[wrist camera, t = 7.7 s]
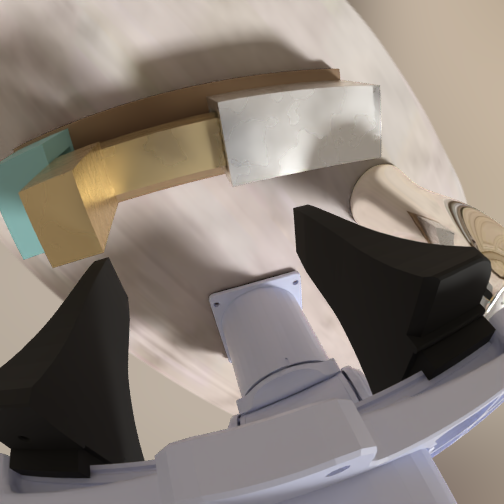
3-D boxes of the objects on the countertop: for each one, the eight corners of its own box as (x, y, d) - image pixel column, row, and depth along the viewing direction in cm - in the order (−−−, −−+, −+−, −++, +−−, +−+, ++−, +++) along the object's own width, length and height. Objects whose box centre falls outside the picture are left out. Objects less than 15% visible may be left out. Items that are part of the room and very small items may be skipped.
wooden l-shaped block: (259, 152, 19) (310, 198, 12) (58, 208, 17) (15, 280, 11) (251, 97, 17) (304, 113, 10) (40, 158, 15) (-20, 210, 9)
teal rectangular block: (93, 207, 19) (78, 241, 15) (45, 224, 18) (23, 259, 14) (67, 128, 15) (42, 144, 12) (17, 150, 15) (-15, 172, 11)
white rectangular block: (344, 139, 21) (381, 157, 17) (218, 163, 19) (232, 186, 16) (340, 79, 18) (379, 85, 14) (206, 96, 17) (217, 102, 13)
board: (337, 146, 22) (344, 150, 21) (47, 221, 19) (43, 228, 18) (332, 68, 18) (339, 68, 18) (19, 146, 16) (13, 149, 15)
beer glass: (330, 216, 25) (453, 349, 13) (372, 143, 22) (532, 236, 10) (382, 241, 28) (488, 352, 16) (419, 180, 25) (546, 270, 13)
